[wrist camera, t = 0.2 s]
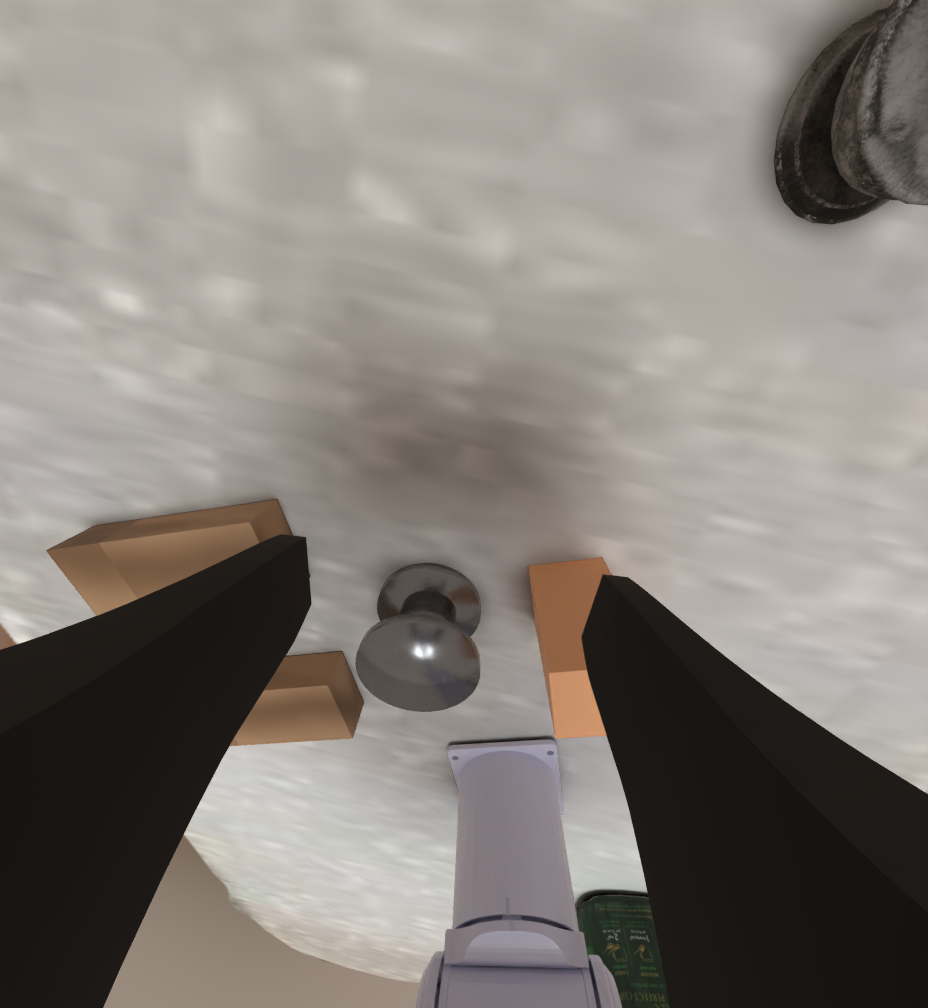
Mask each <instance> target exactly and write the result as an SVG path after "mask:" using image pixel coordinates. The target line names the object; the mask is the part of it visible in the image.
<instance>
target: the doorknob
mask: <svg viewBox="0 0 928 1008" xmlns="http://www.w3.org/2000/svg"><path fill="white" fill-rule="evenodd" d="M377 610H378V615H379V618H380V621H381V622H379V623H377V624H376V625H374V626H373V627H372V628H371V629H370V630H369V631H368V632H367V633H366V634H365V636H364V637H363V640H362V642H361V644H360V647H359V649H358V652H357V656H356V670H357V673H358V676H359V678H360V680H361V682H362V683H363V685H364V686H365V687H366V688H367V689H368V690H369V691H370V692H371V693H372V694H373V695H374V696H376V697H377V698H379V699H380V700H382V701H384V702H386V703H388V704H390V705H392V706H395V707H398V708H401V709H405V710H411V711H420V712H430V711H439V710H443V709H447V708H450V707H453V706H455V705H457V704H459V703H461V702H462V701H464V700H465V699H467V698H468V697H469V696H470V695H471V694H472V693H473V691H474V690H475V688H476V687H477V684H478V682H479V678H480V656H479V652H478V649H477V647H476V645H475V643H474V642H473V640H472V639H471V638H470V636H471V635H472V634H473V633H474V632H475V630H476V629H477V627H478V624H479V621H480V613H481V605H480V598H479V595H478V593H477V591H476V589H475V587H474V586H473V584H472V583H471V582H470V581H469V580H468V579H467V578H466V577H465V576H463V575H462V574H460V573H459V572H457V571H455V570H453V569H451V568H448V567H446V566H442V565H437V564H427V563H425V564H415V565H411V566H407V567H405V568H402V569H400V570H398V571H397V572H395V573H394V574H393V575H391V576H390V577H389V578H388V580H387V581H386V582H385V584H384V585H383V588H382V590H381V593H380V595H379V598H378V603H377Z"/></svg>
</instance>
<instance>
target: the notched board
mask: <svg viewBox="0 0 928 1008" xmlns="http://www.w3.org/2000/svg"><path fill="white" fill-rule="evenodd" d="M280 534H284V535H292V533H291V531H290V528H289V526H288V524H287V521H286V519H285V517H284V514H283V512H282V510H281V507H280V505H279V503H278V500H277V499H276V500H269V501H262V502H255V503H248V504H242V505H235V506H228V507H221V508H214V509H207V510H200V511H193V512H186V513H180V514H173V515H166V516H159V517H152V518H145V519H138V520H131V521H124V522H118V523H111V524H104V525H97V526H93V527H91V528H89V529H87V530H85V531H83V532H81V533H79V534H77V535H75V536H73V537H71V538H69V539H67V540H65V541H64V542H62V543H60V544H58V545H56V546H54V547H52V548H50V549H48V550H46V551H47V552H48V554H49V555H50V556H51V558H52V559H53V560H54V561H55V563H56V564H57V565H58V567H59V568H60V569H61V571H62V572H63V573H64V574H65V576H66V577H67V578H68V580H69V581H70V582H71V583H72V585H73V586H74V587H75V589H76V590H77V591H78V592H79V594H80V595H81V596H82V598H83V599H84V600H85V602H86V603H87V604H88V605H89V607H90V608H91V609H92V611H93V612H94V613H95V614H96V616H98V615H100V614H103V613H105V612H108V611H110V610H113V609H115V608H118V607H120V606H123V605H125V604H128V603H130V602H132V601H134V600H137V599H139V598H141V597H144V596H146V595H148V594H150V593H153V592H155V591H157V590H160V589H162V588H164V587H166V586H169V585H171V584H173V583H175V582H178V581H180V580H182V579H185V578H187V577H189V576H191V575H193V574H195V573H198V572H200V571H202V570H204V569H206V568H208V567H210V566H212V565H214V564H216V563H219V562H221V561H223V560H225V559H227V558H229V557H231V556H233V555H235V554H237V553H240V552H242V551H244V550H246V549H248V548H250V547H252V546H254V545H256V544H259V543H261V542H263V541H265V540H267V539H270V538H272V537H275V536H277V535H280ZM292 536H293V535H292ZM309 578H310V575H309ZM363 704H364V701H363V699H362V697H361V694H360V692H359V690H358V687H357V685H356V683H355V680H354V678H353V676H352V673H351V671H350V669H349V666H348V664H347V662H346V659H345V657H344V655H343V652H342V651H341V652H330V653H319V654H308V655H298V656H287V657H284V659H283V661H282V662H281V664H280V665H279V667H278V669H277V670H276V672H275V674H274V675H273V677H272V678H271V680H270V681H269V683H268V685H267V686H266V688H265V689H264V691H263V693H262V694H261V696H260V697H259V699H258V701H257V702H256V704H255V705H254V707H253V708H252V710H251V712H250V713H249V715H248V716H247V718H246V720H245V721H244V723H243V724H242V726H241V728H240V729H239V731H238V732H237V734H236V736H235V737H234V739H233V741H232V742H231V744H230V746H238V745H254V744H270V743H286V742H302V741H317V740H333V739H349V738H353V736H354V733H355V729H356V726H357V723H358V720H359V717H360V714H361V710H362V707H363Z"/></svg>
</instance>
